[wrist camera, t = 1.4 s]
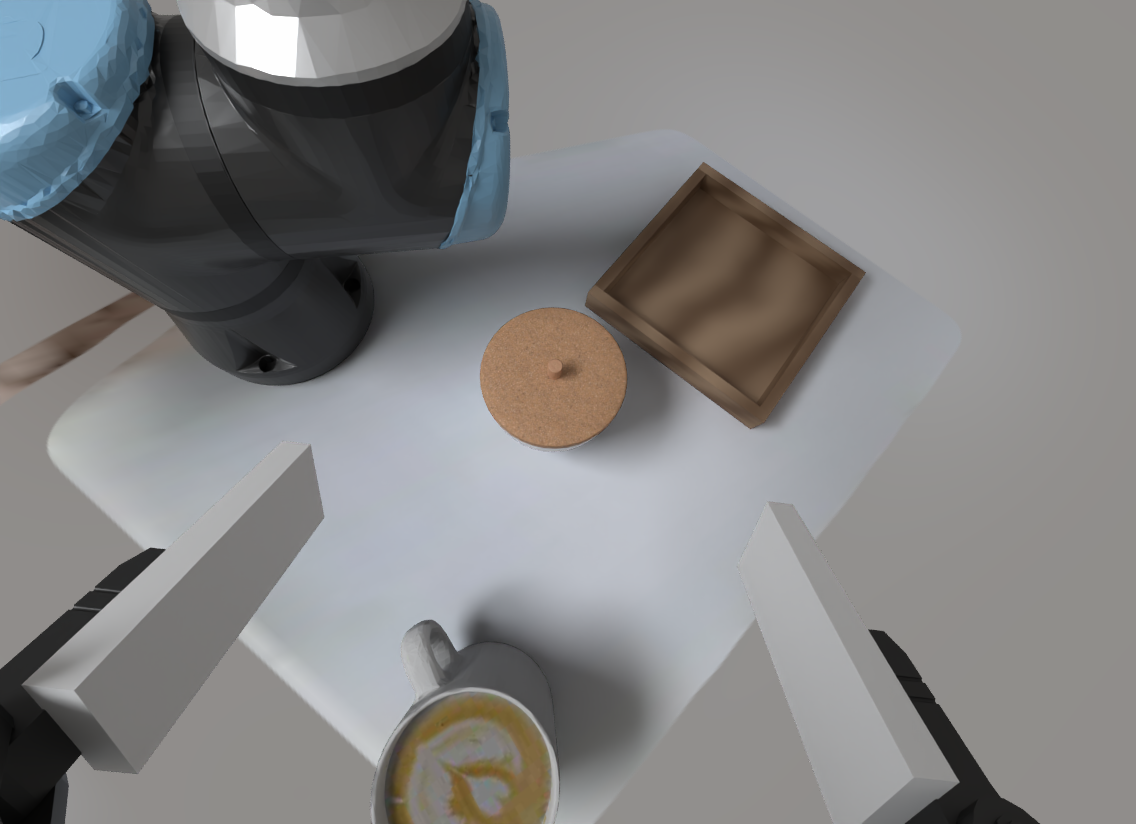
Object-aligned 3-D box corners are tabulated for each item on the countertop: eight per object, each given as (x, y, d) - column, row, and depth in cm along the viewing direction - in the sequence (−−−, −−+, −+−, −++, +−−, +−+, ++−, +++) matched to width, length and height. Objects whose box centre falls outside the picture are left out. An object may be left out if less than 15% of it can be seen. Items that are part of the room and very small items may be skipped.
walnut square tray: (585, 305, 42) (587, 292, 40) (694, 180, 47) (703, 162, 44) (750, 429, 40) (764, 422, 38) (848, 286, 45) (865, 272, 42)
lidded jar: (562, 325, 42) (569, 269, 33) (634, 414, 40) (663, 381, 31) (466, 390, 39) (445, 349, 30) (538, 487, 38) (539, 475, 29)
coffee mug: (572, 757, 33) (587, 853, 23) (440, 819, 31) (397, 949, 22) (514, 577, 36) (506, 596, 26) (391, 626, 34) (334, 665, 25)
